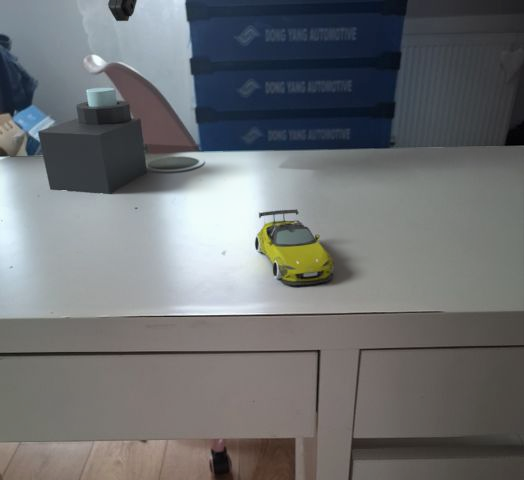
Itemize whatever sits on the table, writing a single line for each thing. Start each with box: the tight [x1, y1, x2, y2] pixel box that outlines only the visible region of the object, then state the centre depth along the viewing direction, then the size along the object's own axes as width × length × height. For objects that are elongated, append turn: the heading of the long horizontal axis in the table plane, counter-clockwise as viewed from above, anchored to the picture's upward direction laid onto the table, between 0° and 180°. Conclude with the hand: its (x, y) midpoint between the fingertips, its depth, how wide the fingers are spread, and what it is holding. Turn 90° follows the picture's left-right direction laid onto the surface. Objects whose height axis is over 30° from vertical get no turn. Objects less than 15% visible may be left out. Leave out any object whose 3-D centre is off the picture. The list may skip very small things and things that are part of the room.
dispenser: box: [37, 99, 148, 195], centre depth 68 cm, size 11×8×8 cm
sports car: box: [254, 208, 335, 287], centre depth 47 cm, size 5×10×3 cm, turn 14°
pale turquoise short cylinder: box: [86, 87, 118, 107], centre depth 68 cm, size 3×3×2 cm
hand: (119, 15), depth 69 cm, fingers closed
